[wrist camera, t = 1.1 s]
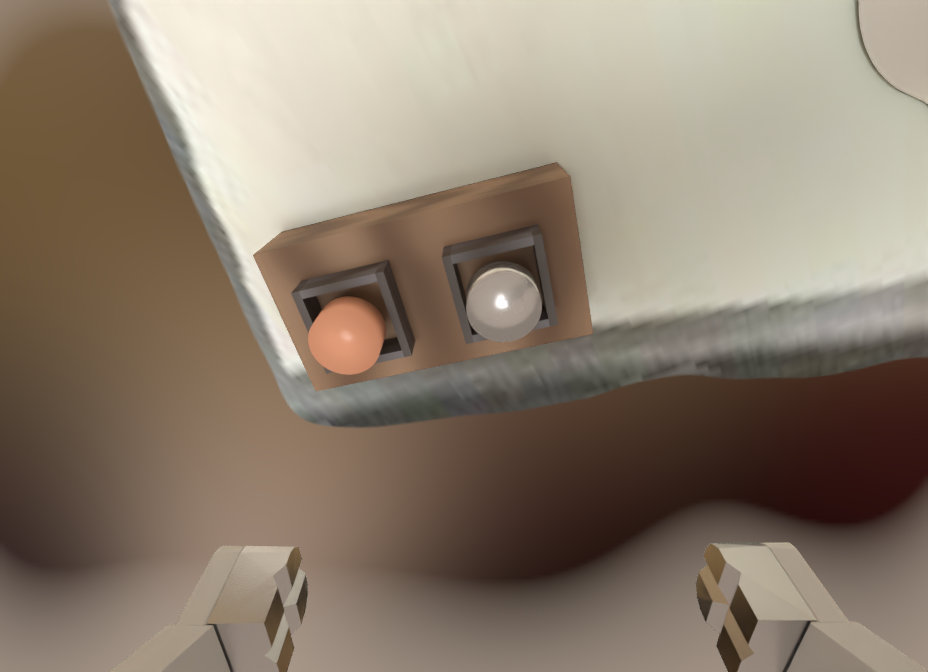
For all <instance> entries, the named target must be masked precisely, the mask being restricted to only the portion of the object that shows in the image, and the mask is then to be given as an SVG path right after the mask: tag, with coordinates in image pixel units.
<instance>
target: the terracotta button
mask: <svg viewBox="0 0 928 672" xmlns="http://www.w3.org/2000/svg"><path fill="white" fill-rule="evenodd" d="M385 336H386V324H385V321H384V318H383V316H382V314H381V313H380V312H379V310H378V309H377V308H376V307H375V306H374V305H372V304H371V303H369V302H368V301H366V300H364V299H361V298H358V297H352V296H344V297H339V298H336V299H334V300H332V301H330V302H329V303H327V304H326V305H325V306H324V308H323V309H322V310H321V312H320V314H319V315H318V317H317V318H316V320H315V321H314V323H313V324H312V326H311V328H310V330H309V334H308V344H309V348H310V351H311V353H312V355H313V356H314V358H315V359H316V360H317V361H318V362H319V363H320V364H321V365H322V366H324V367H325V368H327V369H328V370H330V371H333V372H336V373H339V374H346V375H352V374H358V373H361V372H364V371H366V370H367V369H369V368H370V367H372V366H373V365H374V364H375V362H376V361H377V359H378V357H379V354H380V351H381V348H382V345H383V342H384V339H385Z"/></svg>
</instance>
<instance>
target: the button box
mask: <svg viewBox="0 0 928 672" xmlns="http://www.w3.org/2000/svg"><path fill="white" fill-rule="evenodd" d="M253 256H254V258H255V261H256V263H257V265H258V267H259V269H260V271H261V274H262V276H263V278H264V280H265V282H266V284H267V287H268V289H269V291H270V293H271V295H272V297H273V300H274V302H275V304H276V306H277V308H278V310H279V313H280V315H281V317H282V319H283V321H284V324H285V326H286V328H287V330H288V332H289V334H290V337H291V339H292V341H293V343H294V345H295V347H296V350H297V352H298V354H299V356H300V358H301V360H302V363H303V365H304V367H305V369H306V371H307V373H308V376H309V378H310V380H311V382H312V384H313V386H314V389H315V391H319V390H324V389H329V388H334V387H339V386H344V385H348V384H353V383H358V382H363V381H368V380H373V379H377V378H382V377H387V376H392V375H397V374H401V373H406V372H411V371H416V370H421V369H426V368H430V367H435V366H440V365H445V364H450V363H454V362H459V361H464V360H469V359H474V358H479V357H483V356H488V355H493V354H498V353H503V352H507V351H512V350H517V349H522V348H527V347H532V346H536V345H541V344H546V343H551V342H556V341H560V340H565V339H570V338H575V337H580V336H585V335H589V334H593V330H592V323H591V316H590V309H589V302H588V295H587V289H586V282H585V275H584V268H583V261H582V254H581V247H580V241H579V234H578V227H577V220H576V213H575V206H574V200H573V193H572V186H571V179H570V176H569V175H568V174H567V173H566V172H565V171H564V170H563V169H562V168H561V167H560V166H559V165H558V164H557V163H553V164H549V165H545V166H541V167H537V168H533V169H529V170H525V171H521V172H517V173H513V174H509V175H505V176H501V177H497V178H493V179H489V180H486V181H482V182H478V183H474V184H470V185H466V186H462V187H458V188H454V189H450V190H446V191H442V192H438V193H434V194H430V195H426V196H422V197H418V198H414V199H410V200H406V201H402V202H399V203H395V204H391V205H387V206H383V207H379V208H375V209H371V210H367V211H363V212H359V213H355V214H351V215H347V216H343V217H339V218H335V219H331V220H327V221H323V222H319V223H315V224H312V225H308V226H304V227H300V228H296V229H292V230H288V231H284V232H281V233H280V234H279V235H277V236H276V237H275V238H274V239H272V240H271V241H270V242H269V243H267V244H266V245H265V246H264V247H263V248H261V249H260V250H259V251H258V252H256V253H255V254H254V255H253ZM495 261H511V262H515V263H518V264H520V265H522V266H523V267H525V268H526V269H527V270H528V271H529V272H530V273H531V274H532V276H533V277H534V279H535V282H536V284H537V288H538V291H539V294H540V298H541V302H542V311H541V316H540V319H539V321H538V323H537V325H536V326H535V327H534V329H533V330H532V331H531V332H530V333H528V334H527V335H526V336H524V337H522V338H520V339H518V340H515V341H510V342H496V341H491V340H488V339H486V338H484V337H482V336H481V335H479V334H478V333H477V332H476V331H475V330H474V329H473V327H472V326H471V324H470V322H469V320H468V317H467V312H466V301H467V288H468V284H469V281H470V280H471V278H472V276H473V275H474V274H475V272H476V271H477V270H479V269H480V268H481V267H483V266H484V265H486V264H488V263H491V262H495ZM344 296H352V297H358V298H361V299H364V300H366V301H368V302H369V303H371V304H372V305H374V306H375V307H376V308H377V309H378V310H379V312H380V313H381V314H382V316H383V318H384V321H385V324H386V336H385V339H384V342H383V345H382V348H381V351H380V354H379V357H378V359H377V361H376V362H375V364H374V365H373V366H372V367H370V368H369V369H367V370H366V371H364V372H361V373H358V374H352V375H346V374H339V373H336V372H333V371H330V370H328V369H327V368H325V367H324V366H322V365H321V364H320V363H319V362H318V361H317V360H316V359H315V358H314V356H313V355H312V353H311V351H310V348H309V344H308V334H309V330H310V328H311V326H312V324H313V323H314V321H315V320H316V318H317V317H318V315H319V314H320V312H321V310H322V309H323V308H324V306H325V305H326V304H327V303H329V302H330V301H332V300H334V299H336V298H339V297H344Z"/></svg>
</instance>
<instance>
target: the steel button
mask: <svg viewBox="0 0 928 672" xmlns="http://www.w3.org/2000/svg"><path fill="white" fill-rule="evenodd" d="M541 311H542V302H541V298H540V294H539V291H538V288H537V284H536V282H535V279H534V277H533V276H532V274H531V273H530V272H529V271H528V270H527V269H526V268H525V267H523V266H522V265H520V264H518V263H515V262H511V261H495V262H491V263H488V264H486V265H484V266H483V267H481V268H480V269H479V270H477V271H476V272H475V274H474V275H473V276H472V278H471V280H470V281H469V284H468V288H467V301H466V312H467V317H468V320H469V322H470V324H471V326H472V327H473V329H474V330H475V331H476V332H477V333H478V334H479V335H481V336H482V337H484V338H486V339H488V340H491V341H496V342H510V341H515V340H518V339H520V338H522V337H524V336H526V335H527V334H528V333H530V332H531V331H532V330H533V329H534V327H535V326H536V325H537V323H538V321H539V319H540V316H541Z"/></svg>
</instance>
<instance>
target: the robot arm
mask: <svg viewBox="0 0 928 672" xmlns="http://www.w3.org/2000/svg"><path fill="white" fill-rule="evenodd" d="M859 22H860V29H861V34H862V38H863V42H864V45H865V48H866V50H867V53H868V55H869V57H870V59H871V61H872V63H873V64H874V66H875V67H876V69H877V70H878V72H879V73H880V74H881V75H882V76H883V77H884V78H885V79H886V80H887V81H888V82H889V83H890V84H891V85H893V86H894V87H896V88H897V89H899V90H901V91H902V92H904V93H906V94H909V95H911V96H913V97H915V98H917V99H920V100H922V101H923V102H925V103H927V104H928V0H859ZM703 557H704V558H705V561H706V563H707V566H705V567H704V568H703V569H702V570H700V571H699V573H698V577H697V581H696V591H697V599H698V603H699V607H700V610H701V613H702V615H703V617H704V620H705V622H706V623H707V624H708V625H709V626H710V627H711V628H713V629H714V630H715V631H716V632H717V633H718V634H719V637H718V641H717V645H716V646H717V649H718V651H719V653H720V655H721V658H722V660H723V662H724V664H725V666H726V668H727V671H728V672H928V670H926V669H925V668H924V667H922V666H921V665H919V664H918V663H916V662H915V661H913V660H912V659H910V658H909V657H907V656H906V655H905V654H903V653H902V652H900V651H899V650H897V649H896V648H895V647H893V646H892V645H890V644H889V643H887V642H886V641H884V640H883V639H882V638H880V637H879V636H877V635H876V634H874V633H873V632H871V631H870V630H869V629H867V628H866V627H864V626H863V625H861V624H860V623H858V622H849V621H848V619H847V618H846V617H845V615H844V614H843V613H842V611H841V610H840V608H839V607H838V606H837V604H836V603H835V601H834V600H833V599H832V597H831V596H830V595H829V593H828V592H827V590H826V589H825V588H824V586H823V585H822V583H821V582H820V581H819V579H818V578H817V577H816V575H815V574H814V572H813V571H812V570H811V569H810V567H809V565H808V564H807V563H806V561H805V560H804V559H803V557H802V556H801V554H800V553H799V552H798V550H797V549H796V548H795V547H794V546H792V545H791V544H790V543H759V542H752V543H711V544H709V545H708V546H707V547H706V550H705V553H704V556H703ZM301 561H302V557H301V553H300V549H299V547H273V546H271V547H270V546H269V547H268V546H221V547H220V548H219V549H218V550H217V551H216V552H215V553H214V554H213V556H212V557H211V559H210V561H209V563H208V565H207V567H206V569H205V571H204V572H203V574H202V576H201V578H200V580H199V582H198V583H197V585H196V587H195V589H194V591H193V593H192V595H191V597H190V598H189V600H188V602H187V604H186V606H185V608H184V610H183V611H182V613H181V615H180V617H179V619H178V621H177V623H176V624H175V625H167V626H166V627H164V628H163V629H162V630H161V631H160V632H159V633H157V634H156V635H155V636H153V637H152V638H151V639H150V640H149V641H147V642H146V643H145V644H144V645H142V646H141V647H140V648H139V649H137V650H136V651H135V652H134V653H133V654H131V655H130V656H129V657H128V658H126V659H125V660H124V661H123V662H121V663H120V664H119V665H118V666H116V667H115V668H114V669H113V670H112V671H110V672H287V670H288V667H289V664H290V661H291V657H292V654H293V651H294V645H293V641H292V637H291V635H292V634H293V633H294V632H295V631H296V630H297V629H298V628H299V627H300V626H301V624H302V621H303V617H304V614H305V610H306V603H307V596H308V584H307V578H306V574H305V573H304V572H302V571H301V570H300V569H299V567H300V564H301Z"/></svg>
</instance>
